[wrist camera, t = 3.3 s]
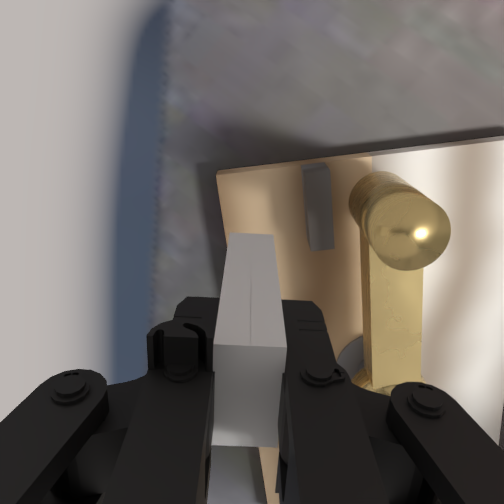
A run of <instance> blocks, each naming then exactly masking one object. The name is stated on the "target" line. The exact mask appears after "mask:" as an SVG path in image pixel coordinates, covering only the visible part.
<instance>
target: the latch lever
mask: <svg viewBox="0 0 504 504" xmlns="http://www.w3.org/2000/svg"><path fill="white" fill-rule="evenodd" d="M348 205H349V211H350V214H351V216H352V218H353V219H354V221H355V222H356V224H357V225H358V227H359V231H360V260H361V290H362V320H363V350H364V368H363V369H361V370H360V371H359V372H358V373H357V374H356V375H355V376H354V377H353V379H352V380H351V382H352V383H353V384H355V385H357V386H359V387H361V388H364V389H367V390H369V391H373V392H377V393H380V394H384V395H388V396H390V395H391V391H392V389H393V388H394V387H395V386H396V385H398V384H401V383H404V382H421V383H425V384H426V382H425V380H424V378H423V376H422V375H421V346H422V308H423V269H424V267H426V266H428V265H430V264H431V263H433V262H434V261H435V260H437V259H438V258H439V257H440V256H441V255H442V253H443V252H444V251H445V249H446V247H447V245H448V243H449V240H450V236H451V224H450V220H449V217H448V216H447V214H446V212H445V211H444V210H443V209H442V208H441V207H440V206H439V205H438V204H436V203H435V202H433V201H432V200H431V199H429V198H428V197H427V196H425V195H424V194H422V193H421V192H420V191H418V190H417V189H416V188H414V187H413V186H411V185H410V184H409V183H407V182H406V181H405V180H403V179H402V178H400V177H399V176H398V175H396V174H394V173H391V172H387V171H377V172H373V173H370V174H368V175H366V176H364V177H363V178H361V179H360V180H359V181H358V182H357V183H356V184H355V186H354V187H353V189H352V191H351V193H350V196H349V203H348Z"/></svg>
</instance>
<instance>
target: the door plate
mask: <svg viewBox="0 0 504 504" xmlns="http://www.w3.org/2000/svg"><path fill="white" fill-rule="evenodd" d="M377 171H387V172H391V173H394V174H396V175H398V176H399V177H400V178H402V179H403V180H405V181H406V182H407V183H409V184H410V185H411V186H413V187H414V188H416V189H417V190H418V191H420V192H421V193H422V194H424V195H425V196H427V197H428V198H429V199H431V200H432V201H433V202H435V203H436V204H438V205H439V206H440V207H441V208H442V209H443V210H444V211H445V212H446V214H447V216H448V217H449V220H450V224H451V236H450V240H449V243H448V245H447V247H446V249H445V251H444V252H443V253H442V255H441V256H440V257H439V258H438V259H437V260H435V261H434V262H433V263H431V264H430V265H428V266H426V267H424V269H423V308H422V346H421V375H422V376H423V378H424V380H425V382H426V384H429V385H433V386H435V387H437V388H439V389H441V390H443V391H445V392H446V393H447V394H449V395H450V396H451V397H452V398H454V399H455V400H456V401H457V402H458V403H459V404H460V405H461V407H462V408H463V409H464V410H465V411H466V412H467V413H468V414H469V415H470V416H471V417H472V418H473V419H474V420H475V421H476V422H477V424H478V425H479V426H480V427H481V428H482V429H483V430H484V431H485V432H486V433H487V434H488V435H489V436H490V437H491V438H492V439H493V441H494V442H495V443H496V444H497V445H498V446H499V437H500V429H501V420H502V412H503V403H504V136H496V137H488V138H480V139H472V140H463V141H455V142H447V143H439V144H431V145H423V146H414V147H406V148H398V149H390V150H382V151H373V152H365V153H357V154H349V155H341V156H332V157H324V158H316V159H308V160H300V161H291V162H283V163H275V164H267V165H259V166H250V167H242V168H234V169H226V170H218V171H217V174H216V180H217V186H218V192H219V199H220V205H221V211H222V218H223V224H224V230H225V237H226V243H227V247H228V240H229V234H230V232H231V233H252V234H272V235H273V236H274V244H275V252H276V261H277V269H278V277H279V285H280V294H281V299H282V300H304V301H313V302H314V303H315V304H316V305H317V306H318V307H319V308H320V309H321V310H322V313H323V316H324V320H325V323H326V327H327V333H328V334H329V337H330V341H331V344H332V348H333V351H334V355H335V359H336V362H337V364H339V365H340V366H341V367H343V368H344V369H345V370H346V372H347V373H348V375H349V376H350V379H351V380H352V379H353V377H354V376H355V375H356V374H357V373H358V372H359V371H360V370H361V369H363V368H364V350H363V320H362V290H361V260H360V231H359V227H358V225H357V224H356V222H355V221H354V219H353V218H352V216H351V214H350V211H349V205H348V203H349V196H350V193H351V191H352V189H353V187H354V186H355V184H356V183H357V182H358V181H359V180H360V179H361V178H363V177H364V176H366V175H368V174H370V173H373V172H377ZM259 453H260V459H261V465H262V472H263V478H264V484H265V491H266V497H267V503H268V504H279V493H275V487H276V477H277V467H278V457H279V438H278V446H277V448H273V447H259Z"/></svg>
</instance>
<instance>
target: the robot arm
mask: <svg viewBox="0 0 504 504" xmlns="http://www.w3.org/2000/svg"><path fill="white" fill-rule="evenodd" d="M147 354H148V372H147V374H146V375H145V376H143V377H140V378H138V379H136V380H132V381H128V382H124V383H119V384H114V385H107V384H106V383H107V382H106V380H105V378H103V376H102V375H101V374H100V373H97V372H94V371H92V370H83V369H76V370H70V371H64V372H62V373H60V374H57V375H55V376H52V377H50V378H49V379H48V380H46V381H45V382H43V383H42V384H40V386H38V387H37V388H36V389H35V390H34V391H33V392H32V393H31V394H30V395H29V396H28V397H27V398H26V399H25V400H24V401H22V402H21V403H20V404H19V405H18V406H17V407H16V408H15V409H14V410H13V411H12V412H11V413H10V414H9V415H8V416H7V417H6V418H5V419H3V421H1V422H0V504H207V497H208V487H209V478H210V468H211V445H223V446H248V447H273V448H277V446H278V438H279V457H278V467H277V477H276V487H275V493H279V504H504V451H503V450H502V449H501V448H500V447H499V446H498V445H497V444H496V443H495V442H494V441H493V439H492V438H491V437H490V436H489V435H488V434H487V433H486V432H485V431H484V430H483V429H482V428H481V427H480V426H479V425H478V424H477V422H476V421H475V420H474V419H473V418H472V417H471V416H470V415H469V414H468V413H467V412H466V411H465V410H464V409H463V408H462V407H461V405H460V404H459V403H458V402H457V401H456V400H455V399H454V398H452V397H451V396H450V395H449V394H447V393H446V392H445V391H443V390H441V389H439V388H437V387H435V386H433V385H429V384H425V383H421V382H404V383H401V384H398V385H396V386H395V387H394V388H393V389H392V391H391V395H390V396H388V395H384V394H380V393H377V392H373V391H369V390H367V389H364V388H361V387H359V386H357V385H355V384H353V383H352V382H351V379H350V376H349V375H348V373H347V372H346V370H345V369H344V368H343V367H341V366H340V365H339V364H337V362H336V359H335V355H334V351H333V348H332V344H331V341H330V337H329V334H328V333H327V327H326V323H325V320H324V316H323V313H322V310H321V309H320V308H319V307H318V306H317V305H316V304H315V303H314V302H313V301H304V300H282V299H281V294H280V285H279V277H278V269H277V261H276V252H275V244H274V236H273V235H272V234H252V233H231V232H230V234H229V240H228V247H227V254H226V261H225V268H224V275H223V281H222V288H221V295H220V298H210V297H186V298H185V299H184V300H183V301H182V302H181V303H179V304H178V305H177V308H176V311H175V314H174V318H173V320H171V321H167V322H164V323H161V324H159V325H157V326H155V327H154V328H152V329H151V330H150V332H149V333H148V334H147Z"/></svg>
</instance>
